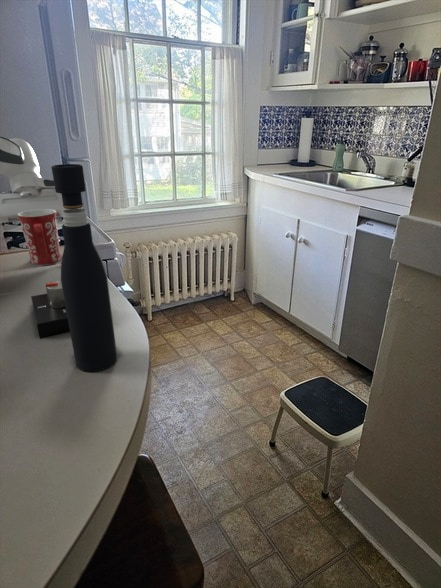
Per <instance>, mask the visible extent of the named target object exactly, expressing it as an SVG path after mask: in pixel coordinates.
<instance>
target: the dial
mask: <svg viewBox="0 0 441 588" xmlns="http://www.w3.org/2000/svg"><path fill="white" fill-rule="evenodd" d="M45 289H46V294H47V295H48V300H49V305H50V307H52V308H57V309H59V308H65V307H66V306H65V300H64V295H63V289H62V284H61V279H59V280H58V279H57V280H53V281H50V282H46V283H45Z"/></svg>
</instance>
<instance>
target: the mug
mask: <svg viewBox="0 0 441 588" xmlns="http://www.w3.org/2000/svg"><path fill="white" fill-rule="evenodd" d="M17 215H18V217H19V219H20V221H19V223H20V226H21V229H22V230H21V231H22V233H23V236H24V239H25V240H24V241H25V244H26V249H27V251H28V255H29V259H30V262H31V263H32V264H34V265H44V267H49V266H53V265H54V266H55V263H57V262H59V261H60V260H62V257H61V248H60V243H59V242H60V240H59V231H58V223H57V217H56V211H55V210H52V209H35V210H27V211H23V212H20V213H18V214H17Z"/></svg>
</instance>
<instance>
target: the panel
mask: <svg viewBox="0 0 441 588" xmlns="http://www.w3.org/2000/svg"><path fill="white" fill-rule="evenodd" d="M30 299H31V304H32V307H33V313H34V318H35V323H36V329H37V332H38V338H39V340H41V339H45V338H50V337H55V336H59V335H63V334H68V333H69V334H70V328H69V323H68V317H67V312H66V307H65V308H59V309H57V308H52V307H50V305H49V300H48V295H47V293H42V294H37V295H31V296H30Z"/></svg>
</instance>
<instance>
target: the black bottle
mask: <svg viewBox="0 0 441 588" xmlns="http://www.w3.org/2000/svg"><path fill="white" fill-rule="evenodd" d="M51 171H52V180H54V186H55V191H56V193H61V194H62V200H63V207H64V208H66V209H67V210H64V211H62V213H63V214H62V217H61V218H63V219H62V222H63V224H62V225H61V231H62V236H63V243H64V247H63V252H62V257H61V262H60V263H61V264H60V280H61V284H62V289H63V295H64V300H65V306H66V312H67V317H68V323H69V328H70V332H69V334H70V340H71V344H72V350H73V356H74V362H75V366H76V368H77V369H78V370H79V371H82V372H86V373H98V372H103V371H105V370H108V369H110V368H111V367H112V366H114V365H115V363H116V362H118V361H117V360H118V352H117V344H116V338H115V337H116V336H115V328H114V320H113V312H112V305H111V297H110V296H111V295H110V287H109V282H108V280H109V279H108V274H107V271H106V268H105V265H104V262H103V260H102V256H100V252H99V251H98V250H97V248H96V245H95V243H94V240H93V239H94V238H93V233H92V224H91V223H90V222H88V221H89V218H88V217H87V216H88V212H87V210H86V208H83V207H84V202H83V194H82V193H84V192H86V191H87V187H86V178H85V171H84V165H83V164H79V163H78V164H77V163H64V164H54V165H51Z"/></svg>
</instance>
